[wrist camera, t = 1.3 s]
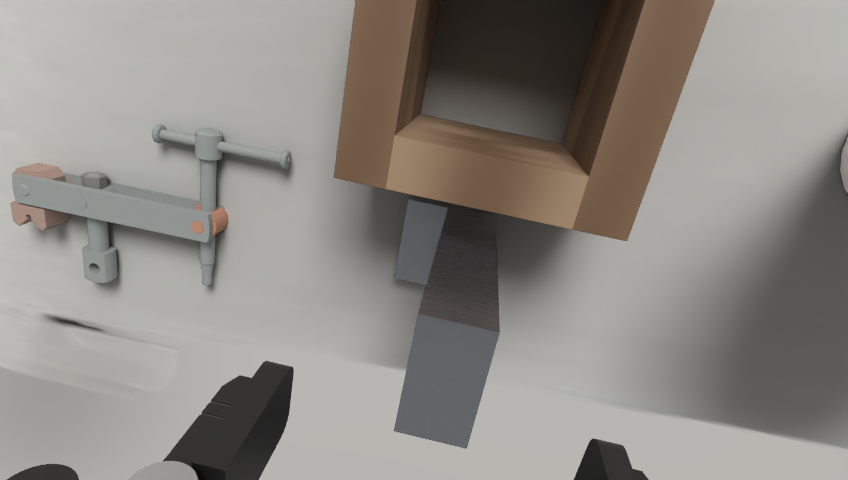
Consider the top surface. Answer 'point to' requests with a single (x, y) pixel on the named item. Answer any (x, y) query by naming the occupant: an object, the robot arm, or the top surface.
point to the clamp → (132, 202)
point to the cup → (844, 165)
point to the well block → (510, 153)
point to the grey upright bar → (448, 317)
